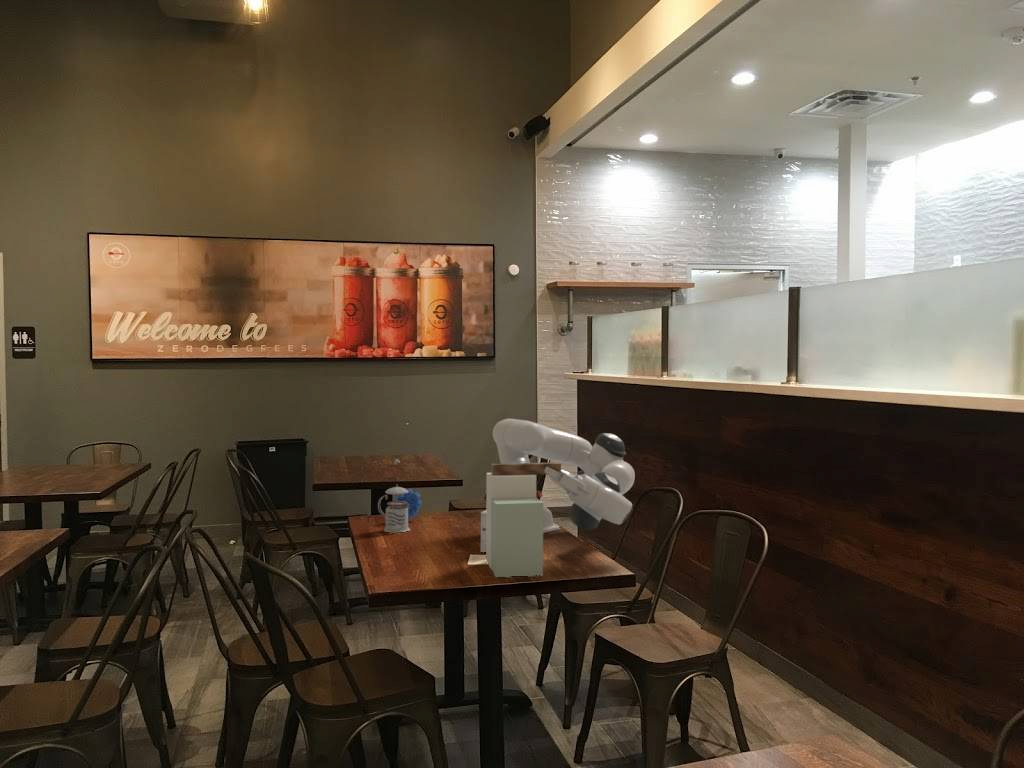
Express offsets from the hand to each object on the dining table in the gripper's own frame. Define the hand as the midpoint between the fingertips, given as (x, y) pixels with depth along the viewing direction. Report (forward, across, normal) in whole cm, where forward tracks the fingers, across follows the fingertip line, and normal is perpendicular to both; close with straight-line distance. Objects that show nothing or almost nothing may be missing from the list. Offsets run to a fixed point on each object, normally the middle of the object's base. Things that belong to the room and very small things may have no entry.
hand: (542, 467), depth 224 cm
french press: (+22, +53, -45) cm, 73 cm away
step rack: (-6, -5, -29) cm, 30 cm away
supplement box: (-4, +16, -30) cm, 34 cm away
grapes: (+18, +69, -43) cm, 84 cm away
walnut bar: (+3, 0, -4) cm, 5 cm away
